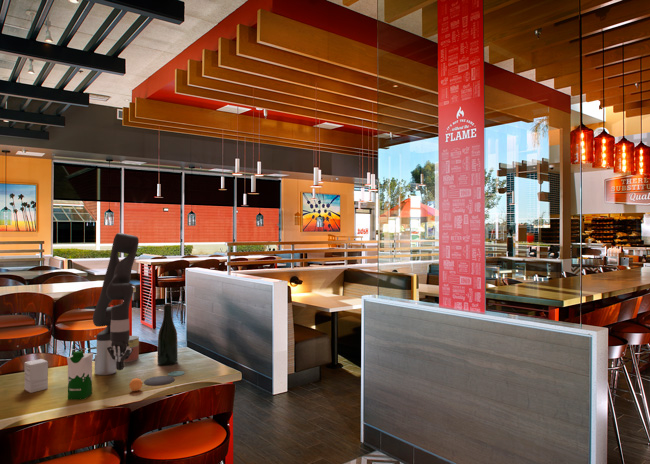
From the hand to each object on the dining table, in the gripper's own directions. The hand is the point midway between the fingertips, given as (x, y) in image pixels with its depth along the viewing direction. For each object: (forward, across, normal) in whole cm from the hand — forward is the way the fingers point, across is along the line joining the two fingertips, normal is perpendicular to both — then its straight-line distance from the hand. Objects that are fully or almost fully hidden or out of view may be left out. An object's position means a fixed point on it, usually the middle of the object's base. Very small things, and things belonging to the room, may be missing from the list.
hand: (120, 369), depth 196 cm
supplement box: (+12, +44, +6) cm, 46 cm away
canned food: (+12, +43, -48) cm, 66 cm away
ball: (+9, 0, -9) cm, 13 cm away
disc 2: (+12, 0, -36) cm, 38 cm away
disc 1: (+12, 0, -24) cm, 27 cm away
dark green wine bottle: (+12, +17, -49) cm, 54 cm away
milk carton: (+12, +17, +5) cm, 22 cm away
